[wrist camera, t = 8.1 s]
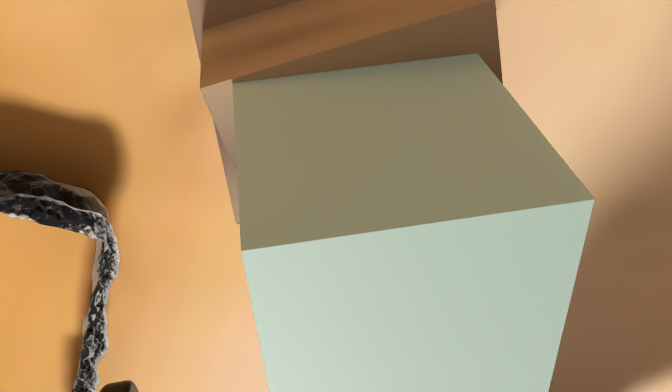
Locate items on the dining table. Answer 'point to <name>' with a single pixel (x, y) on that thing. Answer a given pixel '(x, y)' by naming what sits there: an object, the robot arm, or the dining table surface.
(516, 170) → the sage cube
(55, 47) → the dining table surface
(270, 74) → the slab top
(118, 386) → the robot arm
